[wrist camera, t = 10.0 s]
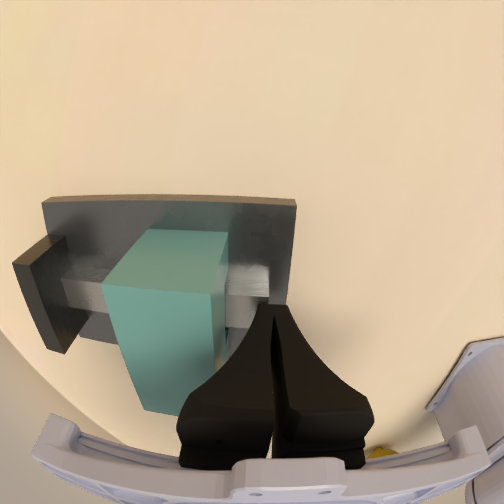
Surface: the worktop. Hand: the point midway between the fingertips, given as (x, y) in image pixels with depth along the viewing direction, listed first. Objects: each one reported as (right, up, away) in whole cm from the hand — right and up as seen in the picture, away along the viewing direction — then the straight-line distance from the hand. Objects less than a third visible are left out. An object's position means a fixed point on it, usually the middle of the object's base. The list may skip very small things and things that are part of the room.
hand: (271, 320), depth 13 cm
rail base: (-6, +2, +3) cm, 7 cm away
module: (-4, +1, +2) cm, 5 cm away
